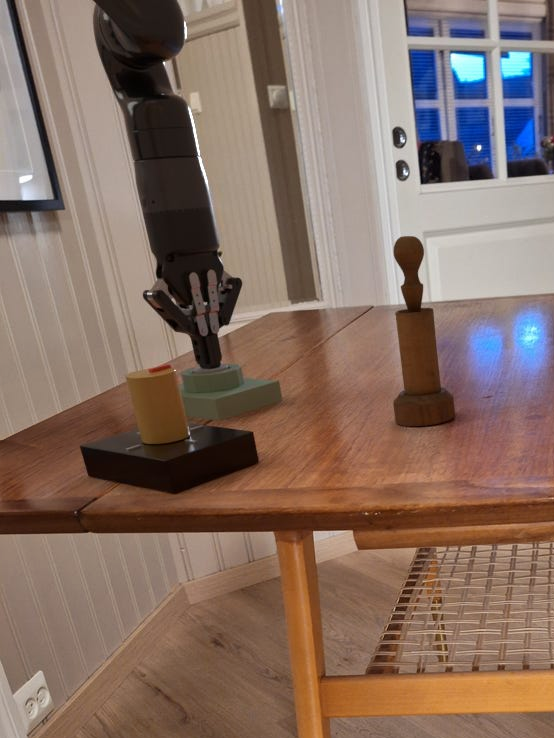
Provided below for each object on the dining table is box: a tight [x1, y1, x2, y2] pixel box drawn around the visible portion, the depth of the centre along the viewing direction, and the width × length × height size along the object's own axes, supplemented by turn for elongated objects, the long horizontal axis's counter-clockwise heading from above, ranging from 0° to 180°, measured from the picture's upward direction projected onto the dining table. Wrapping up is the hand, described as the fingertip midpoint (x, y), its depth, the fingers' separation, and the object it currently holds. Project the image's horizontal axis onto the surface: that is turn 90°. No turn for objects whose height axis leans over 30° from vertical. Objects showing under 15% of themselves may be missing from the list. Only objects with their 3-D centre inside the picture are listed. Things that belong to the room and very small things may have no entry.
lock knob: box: [124, 363, 190, 444], centre depth 80 cm, size 4×4×6 cm
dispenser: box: [179, 363, 283, 422], centre depth 105 cm, size 12×10×4 cm
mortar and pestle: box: [392, 235, 456, 427], centre depth 89 cm, size 7×6×18 cm
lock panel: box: [79, 422, 260, 494], centre depth 82 cm, size 13×10×3 cm
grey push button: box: [193, 363, 228, 374], centre depth 104 cm, size 4×4×2 cm
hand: (210, 367), depth 104 cm, fingers closed
